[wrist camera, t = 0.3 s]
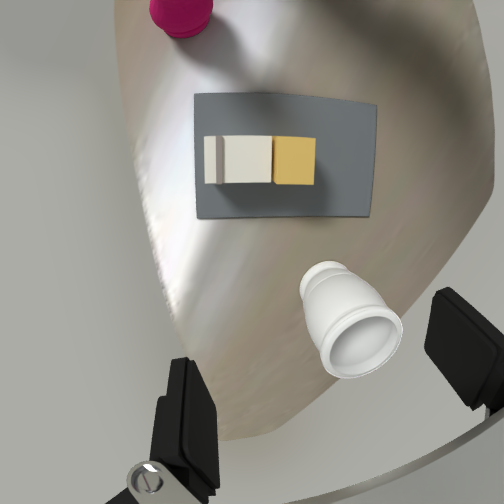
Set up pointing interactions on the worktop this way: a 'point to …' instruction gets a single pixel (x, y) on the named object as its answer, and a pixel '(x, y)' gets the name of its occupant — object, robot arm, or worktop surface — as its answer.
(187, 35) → the pepper mill
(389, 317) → the jar
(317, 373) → the worktop surface
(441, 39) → the worktop surface
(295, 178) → the stub
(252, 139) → the ticket
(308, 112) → the mat
